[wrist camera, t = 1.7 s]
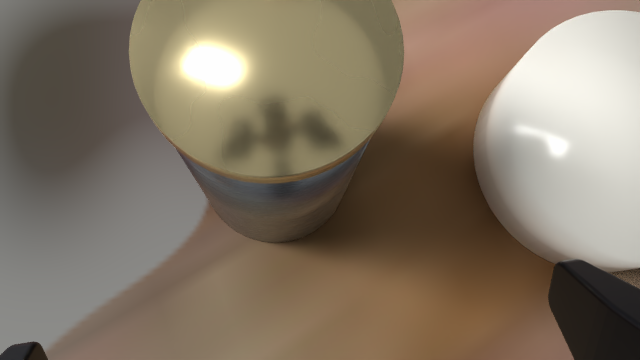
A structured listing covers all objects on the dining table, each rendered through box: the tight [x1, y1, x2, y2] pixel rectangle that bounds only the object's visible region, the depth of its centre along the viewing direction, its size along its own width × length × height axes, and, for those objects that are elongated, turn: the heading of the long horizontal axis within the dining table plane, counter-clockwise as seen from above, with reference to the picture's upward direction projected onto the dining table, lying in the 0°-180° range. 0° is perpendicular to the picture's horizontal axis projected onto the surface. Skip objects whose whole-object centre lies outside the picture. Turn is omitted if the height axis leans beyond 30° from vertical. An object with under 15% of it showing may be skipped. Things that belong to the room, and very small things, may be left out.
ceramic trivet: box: [473, 10, 640, 272], centre depth 22 cm, size 10×10×4 cm
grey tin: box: [129, 0, 404, 243], centre depth 18 cm, size 6×6×11 cm
